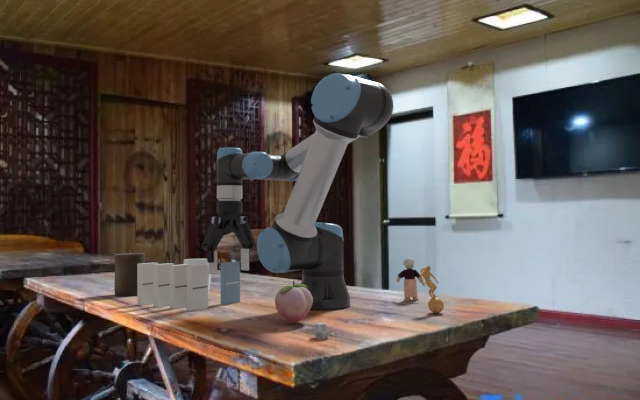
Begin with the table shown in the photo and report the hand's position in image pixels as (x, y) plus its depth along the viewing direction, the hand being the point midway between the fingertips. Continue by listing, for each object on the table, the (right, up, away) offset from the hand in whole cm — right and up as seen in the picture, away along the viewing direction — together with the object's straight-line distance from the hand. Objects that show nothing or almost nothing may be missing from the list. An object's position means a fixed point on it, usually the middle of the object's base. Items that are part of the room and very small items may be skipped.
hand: (229, 272), depth 169 cm
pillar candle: (-37, -11, +23) cm, 45 cm away
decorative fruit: (+20, -8, -35) cm, 41 cm away
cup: (-12, -10, +14) cm, 21 cm away
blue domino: (0, -9, -1) cm, 9 cm away
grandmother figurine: (+53, -9, +1) cm, 54 cm away
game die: (+27, -7, -52) cm, 59 cm away
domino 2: (-19, -9, -3) cm, 21 cm away
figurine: (+56, -8, -23) cm, 61 cm away
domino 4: (-7, -9, -11) cm, 16 cm away
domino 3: (-13, -9, -7) cm, 17 cm away
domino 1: (-24, -9, +1) cm, 26 cm away
